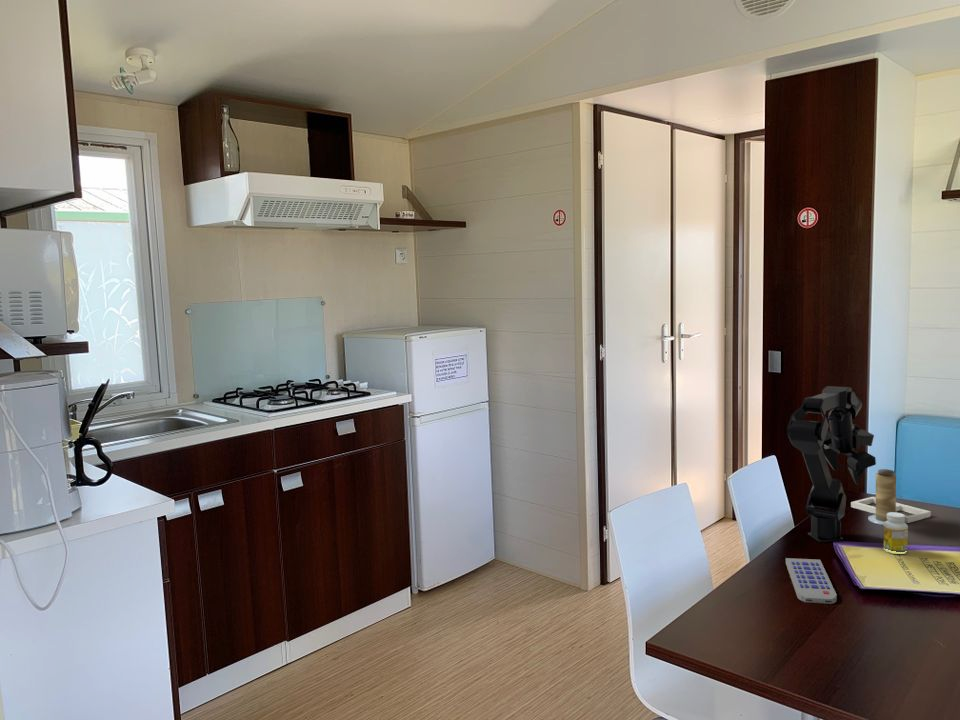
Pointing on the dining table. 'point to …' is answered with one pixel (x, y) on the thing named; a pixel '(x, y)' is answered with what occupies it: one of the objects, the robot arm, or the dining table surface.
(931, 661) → the dining table surface
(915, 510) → the holder
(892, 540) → the supplement bottle
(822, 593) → the remote control
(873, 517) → the coaster
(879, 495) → the plug
